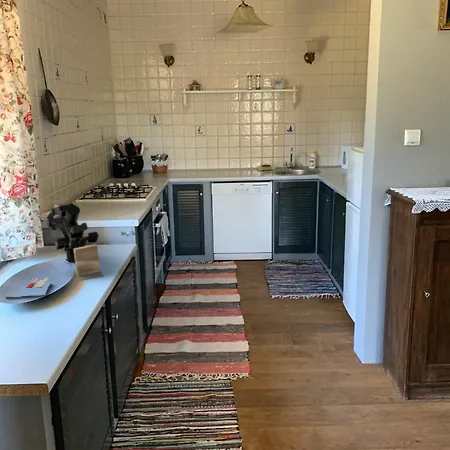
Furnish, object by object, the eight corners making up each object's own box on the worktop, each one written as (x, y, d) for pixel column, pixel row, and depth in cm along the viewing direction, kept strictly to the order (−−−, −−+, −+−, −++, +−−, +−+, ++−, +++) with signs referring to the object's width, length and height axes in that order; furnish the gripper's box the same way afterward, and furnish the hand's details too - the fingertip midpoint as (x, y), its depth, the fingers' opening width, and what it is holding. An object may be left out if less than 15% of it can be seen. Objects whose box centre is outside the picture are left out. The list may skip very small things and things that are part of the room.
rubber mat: (73, 270, 213) (73, 269, 213) (97, 266, 217) (97, 265, 217) (79, 281, 199) (79, 281, 198) (104, 277, 203) (103, 276, 203)
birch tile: (76, 274, 206) (73, 248, 203) (98, 269, 211) (95, 244, 208) (78, 276, 204) (75, 249, 201) (100, 271, 209) (97, 245, 206)
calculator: (13, 280, 194) (50, 276, 195) (15, 289, 195) (52, 285, 196) (3, 290, 184) (42, 286, 185) (6, 300, 185) (44, 296, 186)
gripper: (53, 221, 205) (63, 251, 199) (95, 214, 215) (106, 242, 209) (51, 234, 214) (60, 264, 208) (91, 227, 224) (101, 255, 218)
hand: (82, 256), depth 210 cm, fingers closed
